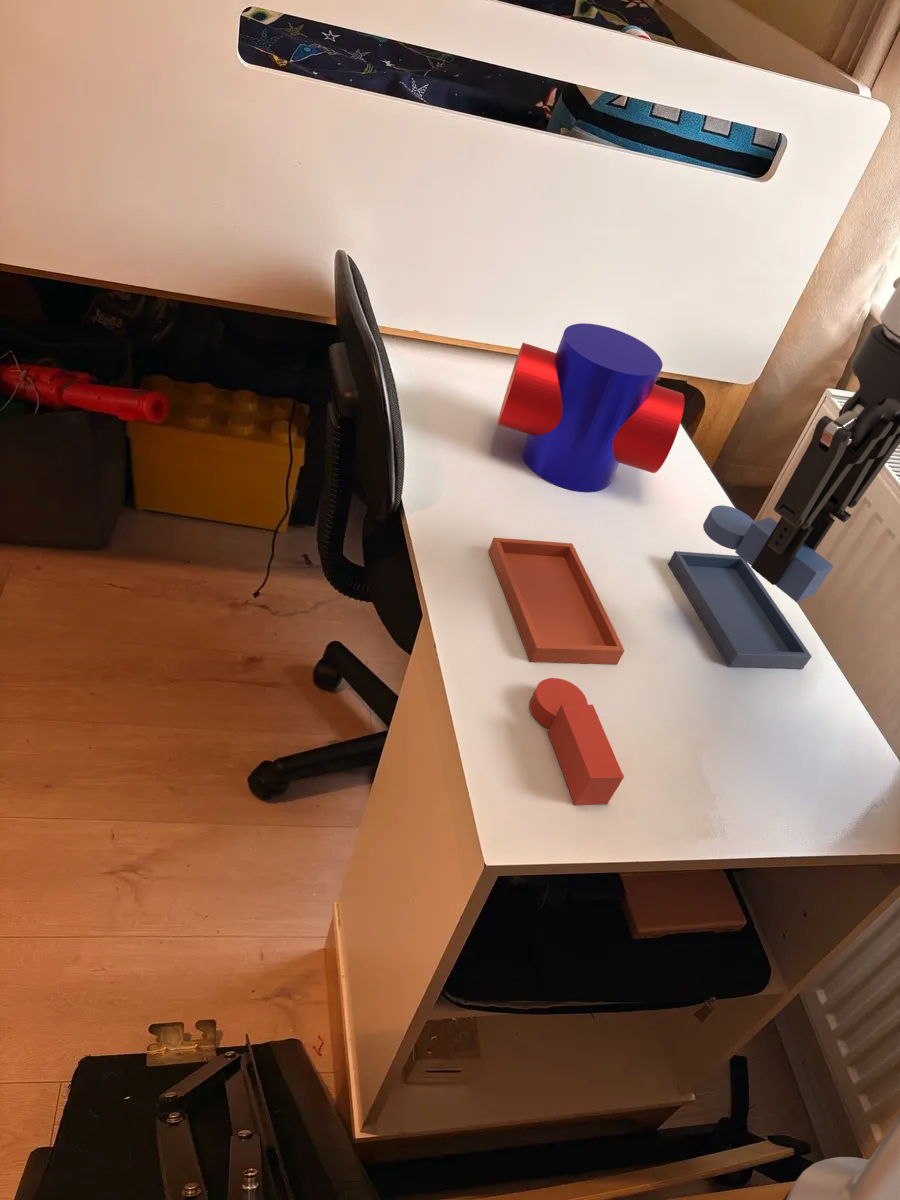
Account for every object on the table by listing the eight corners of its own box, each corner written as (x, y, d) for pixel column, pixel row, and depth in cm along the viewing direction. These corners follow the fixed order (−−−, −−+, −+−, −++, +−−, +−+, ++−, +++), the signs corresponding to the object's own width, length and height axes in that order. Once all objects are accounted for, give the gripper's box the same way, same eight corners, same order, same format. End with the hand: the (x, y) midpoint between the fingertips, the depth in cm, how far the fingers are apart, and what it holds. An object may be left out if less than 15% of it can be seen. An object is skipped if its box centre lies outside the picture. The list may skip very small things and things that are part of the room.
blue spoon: (819, 592, 84) (839, 563, 82) (790, 605, 81) (810, 575, 79) (722, 515, 90) (738, 486, 88) (693, 524, 87) (709, 494, 85)
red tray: (617, 664, 87) (624, 650, 85) (530, 662, 84) (536, 647, 82) (566, 556, 98) (572, 543, 97) (488, 551, 95) (493, 537, 94)
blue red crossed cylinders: (485, 463, 108) (526, 342, 98) (496, 418, 118) (534, 303, 108) (642, 512, 109) (698, 397, 99) (640, 463, 119) (691, 353, 109)
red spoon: (617, 804, 73) (634, 777, 71) (564, 805, 72) (580, 778, 70) (571, 691, 82) (584, 664, 80) (523, 690, 80) (535, 662, 78)
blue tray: (803, 669, 94) (812, 656, 93) (729, 667, 91) (737, 654, 90) (735, 568, 105) (742, 555, 104) (667, 563, 102) (674, 550, 101)
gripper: (927, 314, 76) (791, 530, 91) (828, 324, 67) (694, 564, 82) (1006, 358, 72) (851, 576, 87) (913, 376, 63) (756, 617, 78)
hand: (775, 570), depth 84 cm, fingers closed on blue spoon, 3 cm apart
